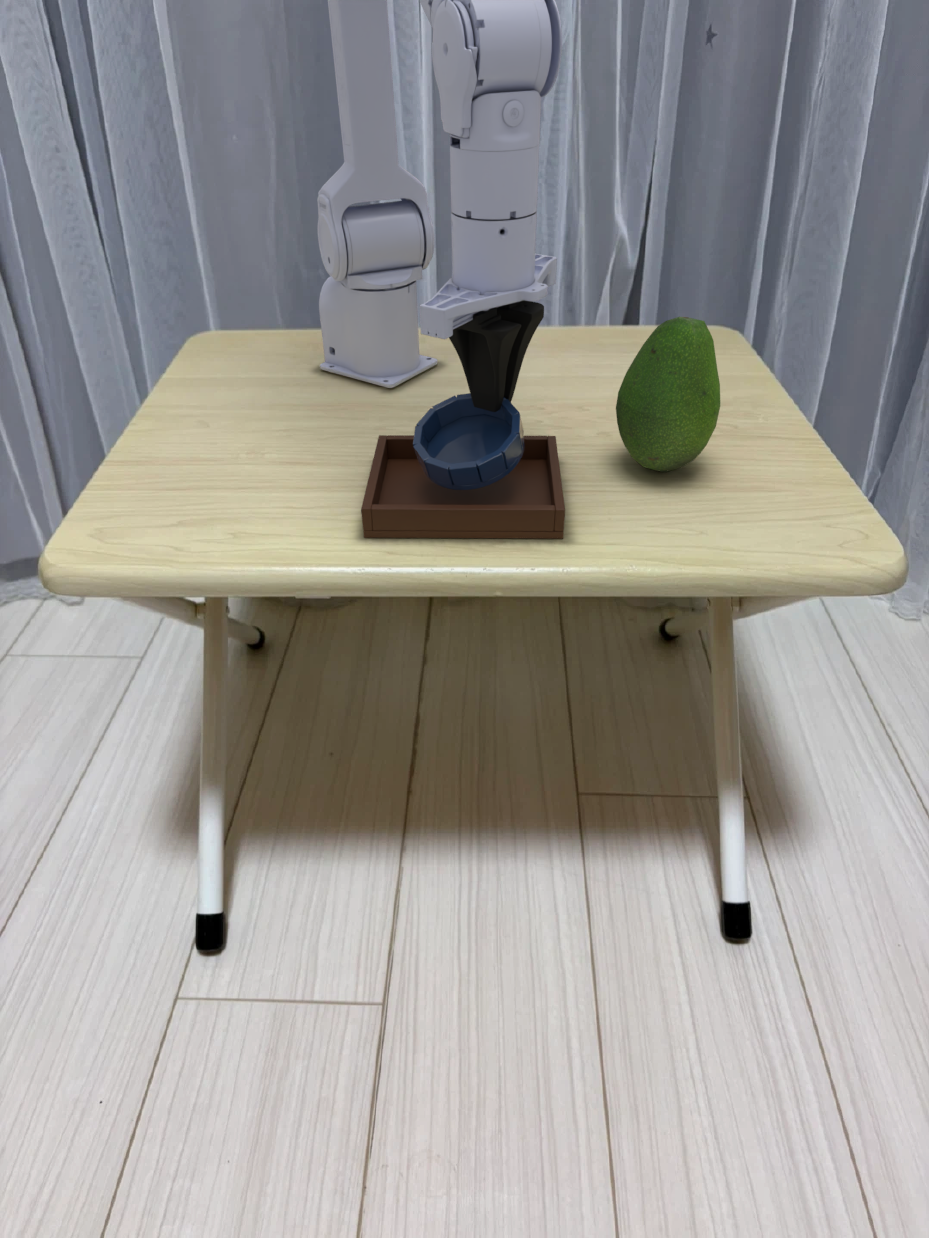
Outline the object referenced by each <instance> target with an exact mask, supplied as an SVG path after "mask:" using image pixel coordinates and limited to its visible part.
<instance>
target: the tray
mask: <svg viewBox="0 0 929 1238" xmlns="http://www.w3.org/2000/svg"><path fill="white" fill-rule="evenodd" d="M413 439H414V435H413V434H412V435H411V434H409V435H408V434H407V435H405V434H404V435H403V434H402V435H400V434H395V435H394V434H393V435H392V434H390V435H389V434H387V435H386V434H383V435H381V434H379V435H378V438H377V442H376V446H375V449H374V453H373V458H372V463H371V467H370V471H369V474H368V479H367V483H366V487H365V492H364V496H363V498H362V499H363V500H362V505H361V508H360V511H361V522H362V523H361V524H362V534H363V538H364V539H365V538H367V539H370V538H371V539H372V538H374V539H375V538H376V539H377V538H382V539H384V538H385V539H386V538H387V539H390V538H391V539H392V538H394V539H395V538H396V539H397V538H398V539H401V538H402V539H549V540H550V539H556V540H557V539H559V540H560V539H564V533H565V518H566V506H565V505H566V504H565V500H564V490H563V483H562V474H561V467H560V460H559V452H558V444H557V436H556V435H524V451H523V455H522V457H521V459H520V461H519V463H518V464H517V465H516V467H515V468H514V469H513V470H512V471H511V472H510V473H509V474H508V475H506V476H505V477H503V478H502V479H500V480H499V481H497V482H495V483H493V484H490V485H488V486H485V487H482V488H477V489H472V490H453V489H448V488H444V487H441V486H439V485H437V484H435V483H434V482H432V481H431V480H430V479H429V478H428V477H427V476H426V475H425V473H424V471H423V469H422V467H421V465H420V464H419V462H418V459H417V456H416V453H415V450H414V447H413Z"/></svg>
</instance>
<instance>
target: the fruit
mask: <svg viewBox="0 0 929 1238" xmlns="http://www.w3.org/2000/svg"><path fill="white" fill-rule="evenodd" d="M714 342H715V341H714V338H713V336H712V334H711V331H710V330H709V328H708V326H707V323H706V322H705V320H702V319H697V318H693V317H688V316H675V317H673V318H670V319H667V320H665V321H664V322H662V323H661V324H659V325H657V327H655V329H654V330H653V331H652V332H651V333H650V335H648V338H647V339H646V340H645V342H644V343H643V344H642V345H641V347H640V349H639V351H638V352H637V354H636V355H635V357H634V358H633V360H632V362H631V363H630V365H629V367H628V369H627V370H626V372H625V375H624V377H623V379H622V382H621V384H620V386H619V390H618V391H617V398H616V404H615V415H616V423H617V429H618V433H619V436H620V438H621V441H622V444H623V446H624V447H625V449H626V451H627V452H628V454H629V455H630V457H631V458H632V459H633V460H634V461H636V462H637V463H638V464H639V465H641V466H642V468H646V469H649V470H653V471H657V472H662V473H666V472H670V471H673V470H677V469H680V468H683V467H685V466H687V465H688V464H690V463H691V462H693V461H694V460H695V459H696V458H698V456H700V454H701V453H702V452H703V451H704V449H705V448H706V446H707V445H708V443H709V441H710V439H711V437H712V435H713V433H714V431H715V429H716V428H717V423H718V419H719V414H720V409H721V383H720V382H721V381H720V376H719V371H718V364H717V363H718V362H717V355H716V350H715V343H714Z"/></svg>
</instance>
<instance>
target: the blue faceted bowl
mask: <svg viewBox="0 0 929 1238" xmlns="http://www.w3.org/2000/svg"><path fill="white" fill-rule="evenodd" d="M413 434H414V439H413V447H414V450H415V453H416V456H417V459H418V462H419V464H420V465H421V467H422V469H423V471H424V473H425V475H426V476H427V477H428V478H429V479H430V480H431V481H432V482H434V483H435V484H437V485H439V486H441V487H444V488H448V489H453V490H472V489H477V488H482V487H485V486H488V485H490V484H493V483H495V482H497V481H499V480H500V479H502V478H503V477H505V476H506V475H508V474H509V473H510V472H511V471H512V470H513V469H514V468H515V467H516V465H517V464H518V463H519V461H520V459H521V457H522V455H523V451H524V436H525V435H524V434H525V430H524V426H523V421H522V417H521V414H520V411H519V410H518V409H517V408H516V407H515V405H514V404H513V403H512V401H511V402H510V401H509V400H508V399H506V398H503V402H502V405H501V409H500V410H498V411H497V412H491V411H488V410H484V409H480V408H477V407H474V405H473V402H472V398H471V394H470V392H469V393H462V394H461V393H460V394H456V395H453V396H451V397H448V398H447V399H445V400H442V401H441V402H439V403H436V404H434V405H432V407H430V408H429V409H428V410H427V412H426V413H424V415H423V416H422V417H421V418H420V419H419V420H418V422H417V423H416V424H415V426H414V433H413Z"/></svg>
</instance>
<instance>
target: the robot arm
mask: <svg viewBox="0 0 929 1238" xmlns="http://www.w3.org/2000/svg"><path fill="white" fill-rule="evenodd" d="M418 2H419V3H420V5H421V7H422V9H423V11H424V14H425V16H426V18H427V20H428V22H429V24H430V27H431V28H432V43H430V48H431V60H432V61H431V62H432V68H433V74H434V78H435V83H436V86H437V90H438V94H439V103H440V121H441V122H442V130H443V132H444V133H448V134H449V171H450V172H449V174H450V175H449V177H450V178H449V179H450V180H449V181H450V228H451V230H450V231H451V232H450V233H451V235H450V236H451V277H450V278H449V279H448V280H447V281H446V282H445V283H444V284H443V285H442V286H441V288H439V290H438V291H437V292H436V293H435V294H434V295H433V296H432V297H431V298H430V299H428V300H426V301H425V302H423V303H421V304H420V305H419V309H418V289H417V287H418V286H417V281H421V280H423V270H424V271H425V270H426V269H427V268H428V267H429V266H430V263H431V261H432V259H433V256H434V253H435V231H434V225H433V221H432V217H431V214H430V209H429V202H428V193H427V191H426V190H427V189H426V187H425V185H424V184H423V183H422V181H420V180H419V179H418V178H417V177H416V176H415V175H414V174H412V173H411V172H409V171H408V170H406V169H405V168H404V167H403V166H402V165H400V163H399V149H398V138H397V137H398V135H397V122H396V109H395V95H394V83H393V81H394V80H393V68H392V54H391V39H390V38H391V37H390V25H389V24H390V23H389V11H388V0H327V8H328V17H329V26H330V27H329V29H330V36H331V37H330V38H331V46H332V56H333V65H334V75H335V84H336V96H337V105H338V115H339V123H340V124H339V126H340V133H341V143H342V152H343V163H342V165H340V167H339V168H338V169H337V170H336V171H335V173H334V174H332V176H330V177H329V178H328V180H327V181H326V182H324V184H323V185H322V186H321V187H320V189H319V190H318V193H317V195H318V196H317V199H316V200H317V201H316V202H317V213H318V217H317V218H318V219H317V239H318V240H317V242H318V247H319V248H318V249H319V253H320V257H321V261H322V264H323V266H324V269H325V271H326V273H327V274H328V275H329V277H327V279H325V281H324V283H323V285H322V287H321V289H320V293H319V298H318V312H319V320H320V330H321V340H322V348H323V356H324V362H322V363H320V364H319V369H320V370H322V371H326V372H329V373H333V374H336V375H340V376H344V377H348V378H351V379H355V380H358V381H361V382H365V383H368V384H369V383H370V384H371V385H372V384H373V385H376V386H379V387H383V388H387V389H393V388H396V387H397V386H399V385H401V384H402V383H405V382H406V381H408V380H411V379H412V378H414V377H416V376H417V375H419V374H421V373H423V372H425V371H427V370H429V369H431V368H433V367H435V366H437V365H438V359H437V358H435V357H431V356H426V355H424V354H421V353H420V335H419V325H420V334H421V335H422V336H428V337H432V338H436V339H439V340H447V339H449V340H450V342H451V344H452V346H453V348H454V350H455V352H456V354H457V356H458V358H459V360H460V363H461V366H462V369H463V372H464V375H465V380H466V383H467V386H468V390H469V393H470V394H471V398H472V402H473V405H474V407H477V408H480V409H484V410H488V411H491V412H497V411H498V410H500V409H501V405H502V402H503V398H506V399H508V400H509V401H510V402H511V403H512V401H513V397H514V393H515V390H516V388H517V383H518V380H519V377H520V376H519V375H520V372H521V369H522V365H523V362H524V359H525V355H526V352H527V350H528V347H529V346H530V343H531V341H532V338H533V336H534V335H535V333H536V331H537V329H538V327H539V326H540V324H541V323H542V321H543V319H544V318H545V317H544V316H545V306H544V304H542V303H541V302H538V301H540V300H542V299H544V298H546V297H547V296H548V295H549V287H552V286H554V285H556V284H557V269H558V258H557V256H552V255H546V254H541V253H540V254H539V253H536V249H537V248H536V247H537V246H536V245H537V244H536V243H537V222H538V221H537V219H538V218H537V217H538V197H539V196H538V193H539V192H538V191H539V166H540V165H539V162H540V141H541V139H540V138H541V137H540V136H541V135H540V134H541V114H542V113H541V111H542V98H544V97H545V96H548V94H549V93H550V92H551V91H552V90H553V87H554V85H555V83H556V81H557V78H558V76H559V73H560V67H561V63H562V55H563V53H562V52H563V29H562V21H561V15H560V11H559V8H558V5H557V2H556V0H418ZM397 199H398V200H397ZM389 200H395V201H389ZM379 201H381V202H379ZM382 201H385V202H382ZM370 202H371V203H370ZM372 202H375V203H372ZM360 203H362V204H360ZM363 203H366V204H363ZM367 203H368V204H367ZM356 204H358V205H356ZM418 310H419V312H418ZM419 322H420V324H419Z"/></svg>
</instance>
